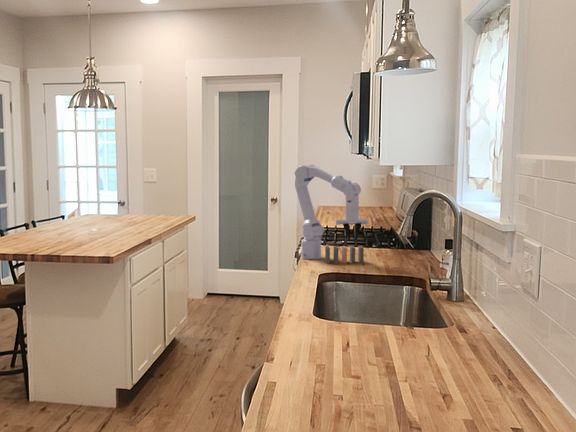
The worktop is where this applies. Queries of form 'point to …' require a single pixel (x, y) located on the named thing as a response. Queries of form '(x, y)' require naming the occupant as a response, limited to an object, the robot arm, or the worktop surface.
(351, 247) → the charcoal tile
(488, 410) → the worktop surface
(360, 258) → the charcoal tile
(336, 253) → the charcoal tile
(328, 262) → the charcoal tile
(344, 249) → the brick tile
